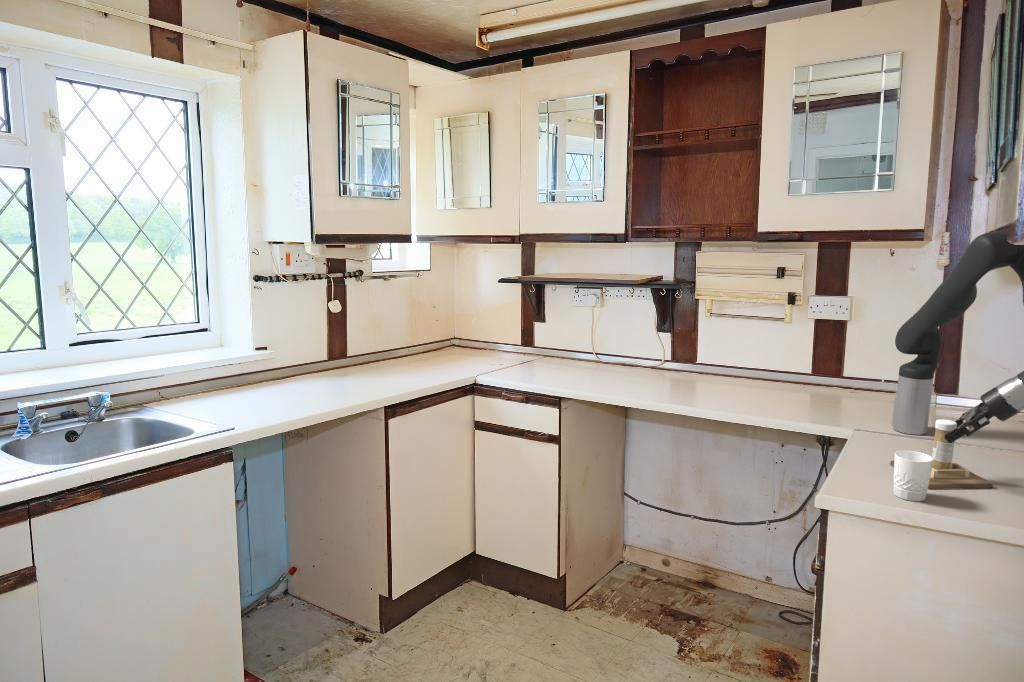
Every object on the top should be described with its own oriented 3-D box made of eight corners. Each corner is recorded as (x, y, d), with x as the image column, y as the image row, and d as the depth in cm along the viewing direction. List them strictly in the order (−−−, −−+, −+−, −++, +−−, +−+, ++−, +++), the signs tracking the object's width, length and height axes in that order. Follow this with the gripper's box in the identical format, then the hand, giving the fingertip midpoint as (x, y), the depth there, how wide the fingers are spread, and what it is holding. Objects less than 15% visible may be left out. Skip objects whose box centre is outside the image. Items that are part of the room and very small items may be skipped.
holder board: (890, 465, 183) (891, 453, 182) (949, 464, 183) (950, 453, 183) (927, 488, 167) (929, 476, 166) (992, 488, 167) (993, 475, 167)
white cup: (882, 491, 166) (886, 451, 164) (910, 488, 168) (914, 449, 166) (908, 504, 158) (912, 463, 156) (936, 501, 160) (941, 460, 158)
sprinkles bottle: (932, 467, 178) (938, 417, 175) (952, 471, 175) (959, 421, 172) (927, 472, 174) (933, 421, 172) (948, 476, 171) (954, 425, 169)
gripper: (997, 379, 171) (938, 416, 179) (997, 391, 159) (934, 430, 168) (1020, 403, 169) (960, 439, 177) (1022, 417, 157) (957, 455, 166)
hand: (947, 435), depth 173 cm, fingers open, 8 cm apart
